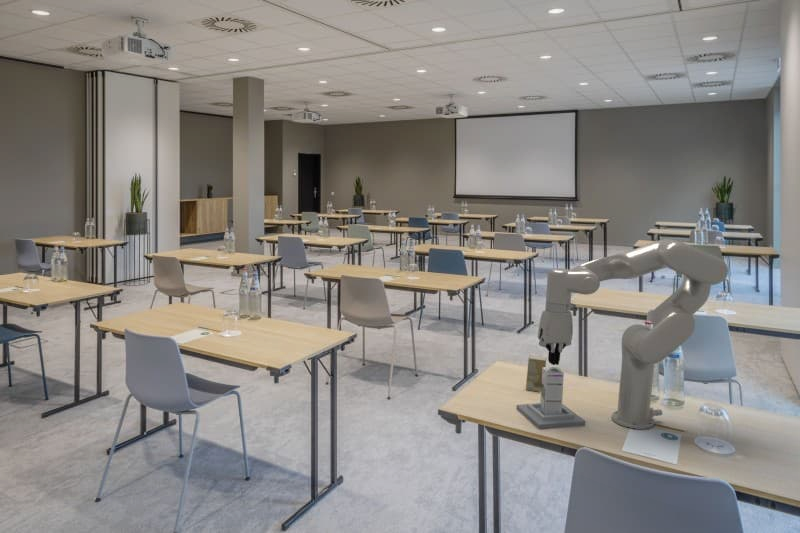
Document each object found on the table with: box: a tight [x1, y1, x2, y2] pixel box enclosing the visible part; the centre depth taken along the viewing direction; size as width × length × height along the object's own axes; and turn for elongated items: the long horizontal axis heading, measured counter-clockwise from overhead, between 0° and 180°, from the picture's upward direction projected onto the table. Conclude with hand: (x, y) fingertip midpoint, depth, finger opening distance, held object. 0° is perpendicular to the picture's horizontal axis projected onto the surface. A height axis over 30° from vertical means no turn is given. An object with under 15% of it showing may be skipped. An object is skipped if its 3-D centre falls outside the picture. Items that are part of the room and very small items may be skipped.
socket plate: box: [515, 402, 587, 430], centre depth 189 cm, size 16×16×3 cm
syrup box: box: [539, 366, 564, 416], centre depth 188 cm, size 6×6×14 cm
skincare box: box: [525, 354, 547, 393], centre depth 213 cm, size 6×4×12 cm
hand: (553, 363), depth 187 cm, fingers closed
